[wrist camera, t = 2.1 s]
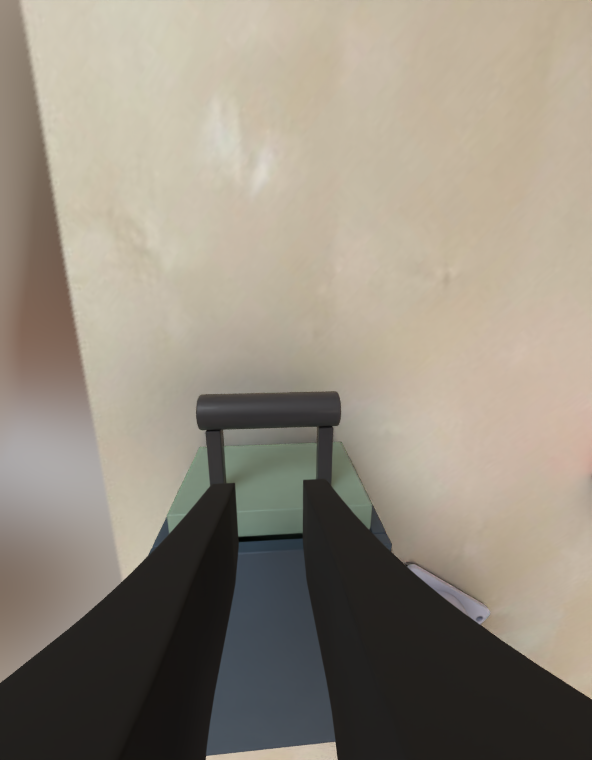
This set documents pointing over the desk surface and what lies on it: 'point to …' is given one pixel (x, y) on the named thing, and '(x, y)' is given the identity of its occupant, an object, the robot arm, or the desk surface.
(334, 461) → the drawer
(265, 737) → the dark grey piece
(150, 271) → the desk surface
